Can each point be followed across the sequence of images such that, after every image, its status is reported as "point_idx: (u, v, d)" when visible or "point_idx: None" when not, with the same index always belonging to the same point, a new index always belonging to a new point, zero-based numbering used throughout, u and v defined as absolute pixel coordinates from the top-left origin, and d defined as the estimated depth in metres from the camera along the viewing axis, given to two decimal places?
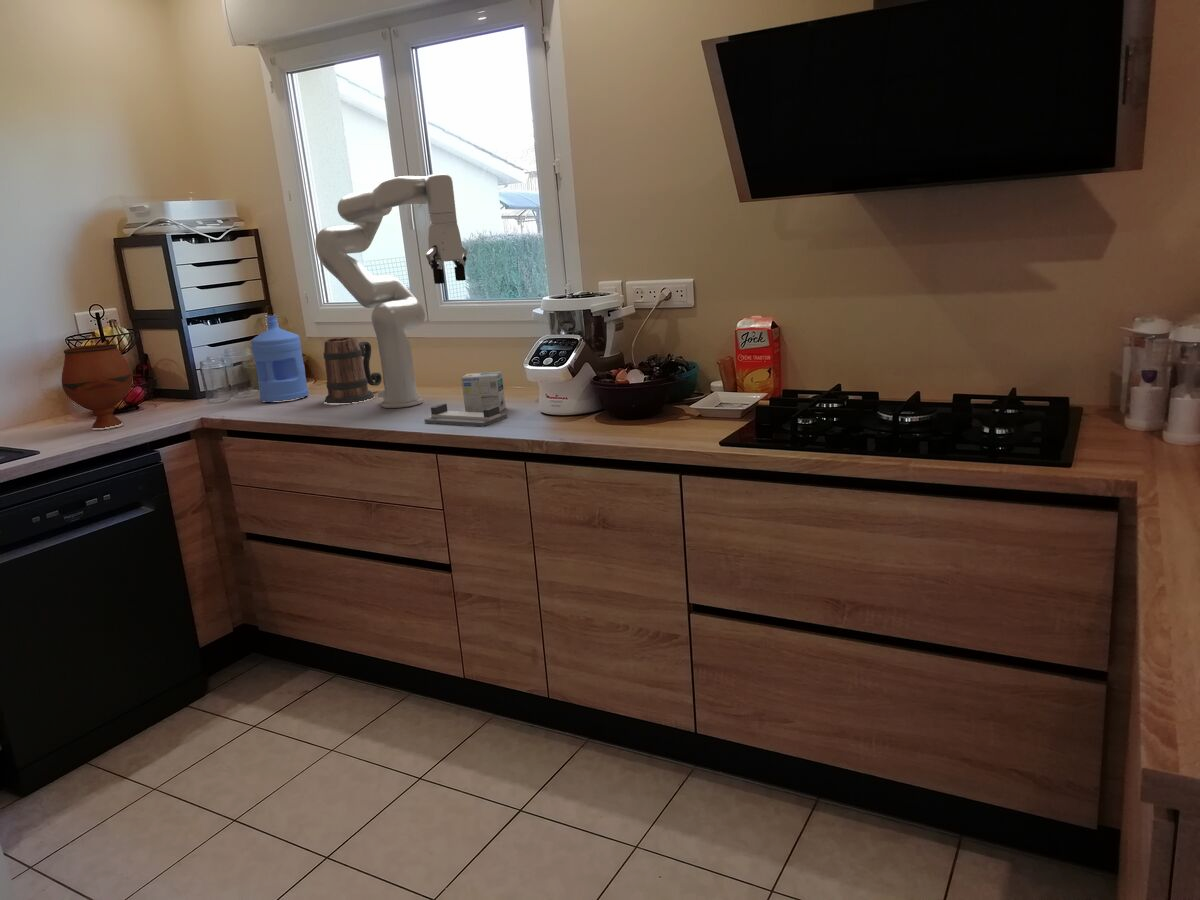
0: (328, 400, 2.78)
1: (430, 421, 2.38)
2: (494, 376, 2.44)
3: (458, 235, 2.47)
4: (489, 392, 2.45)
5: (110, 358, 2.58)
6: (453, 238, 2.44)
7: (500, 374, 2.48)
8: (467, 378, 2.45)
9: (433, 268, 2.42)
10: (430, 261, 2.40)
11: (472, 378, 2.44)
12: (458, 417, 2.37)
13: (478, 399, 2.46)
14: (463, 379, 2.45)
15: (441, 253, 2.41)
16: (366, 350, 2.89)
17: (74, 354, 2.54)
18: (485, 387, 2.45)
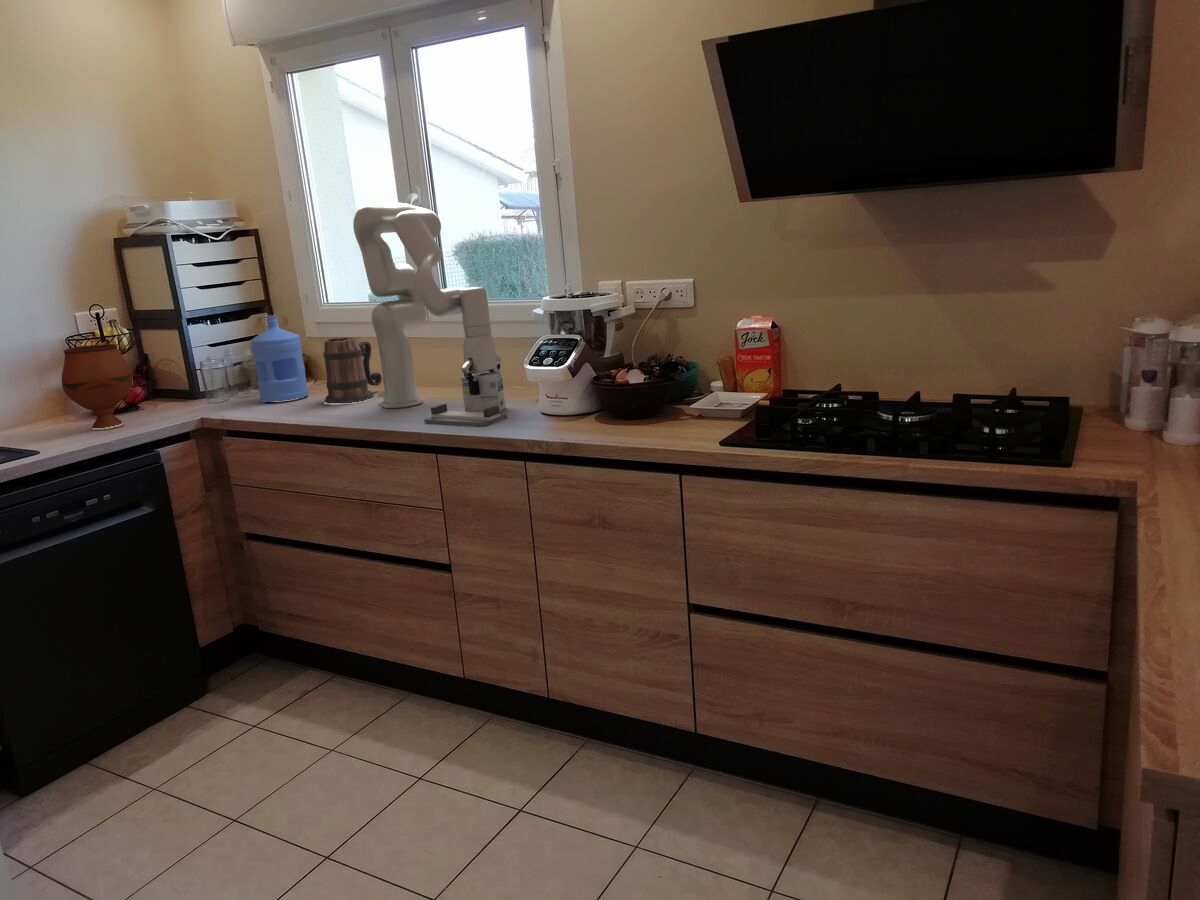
0: (328, 400, 2.78)
1: (430, 421, 2.38)
2: (494, 376, 2.44)
3: (492, 345, 2.47)
4: (489, 392, 2.45)
5: (110, 358, 2.58)
6: (488, 349, 2.45)
7: (500, 374, 2.48)
8: None
9: (468, 380, 2.42)
10: (466, 374, 2.40)
11: None
12: (458, 417, 2.37)
13: (478, 399, 2.46)
14: (463, 379, 2.45)
15: (476, 365, 2.41)
16: (366, 350, 2.89)
17: (74, 354, 2.54)
18: (485, 387, 2.45)
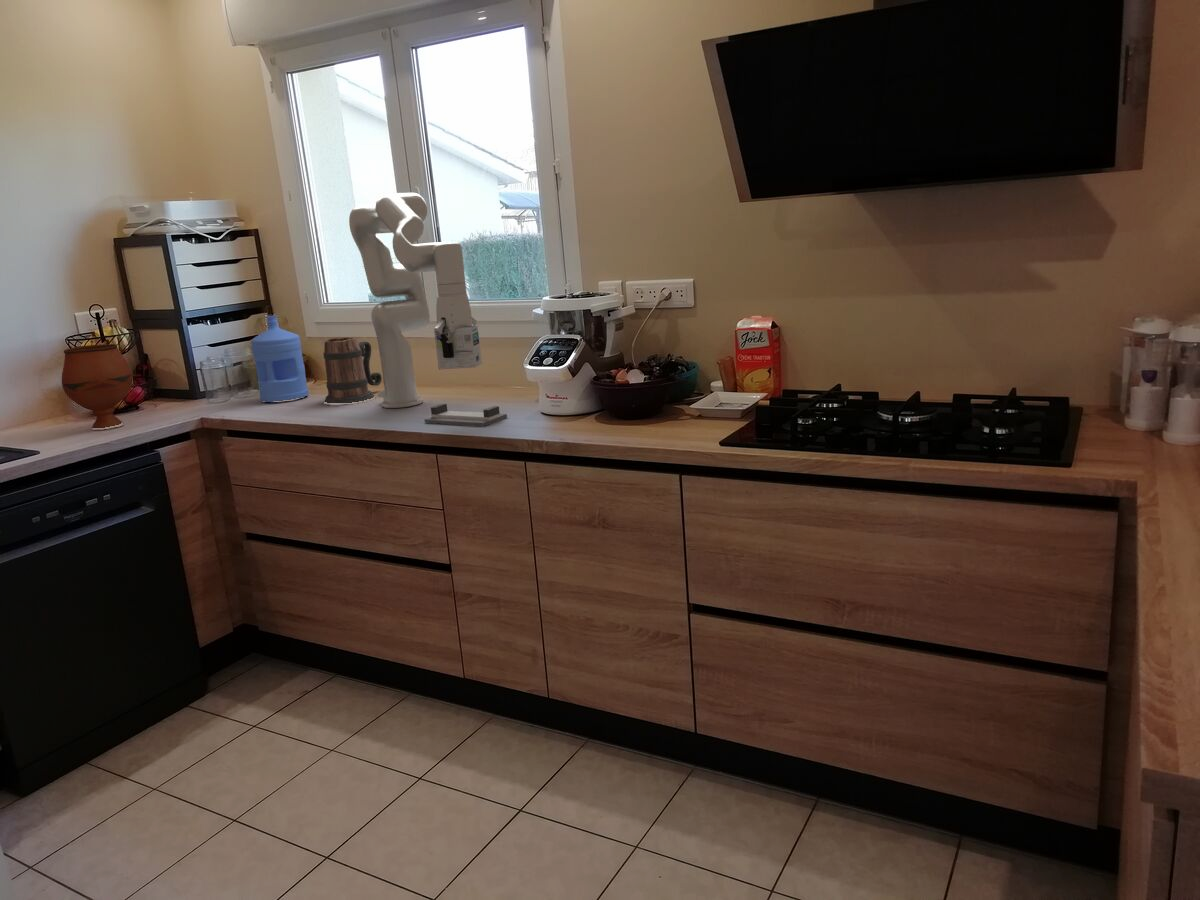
0: (328, 400, 2.78)
1: (430, 421, 2.38)
2: (469, 329, 2.29)
3: (467, 305, 2.33)
4: (464, 346, 2.31)
5: (110, 358, 2.58)
6: (462, 309, 2.31)
7: (476, 328, 2.34)
8: None
9: (442, 342, 2.29)
10: (439, 335, 2.27)
11: None
12: (458, 417, 2.37)
13: None
14: None
15: (450, 326, 2.28)
16: (366, 350, 2.89)
17: (74, 354, 2.54)
18: (459, 341, 2.30)
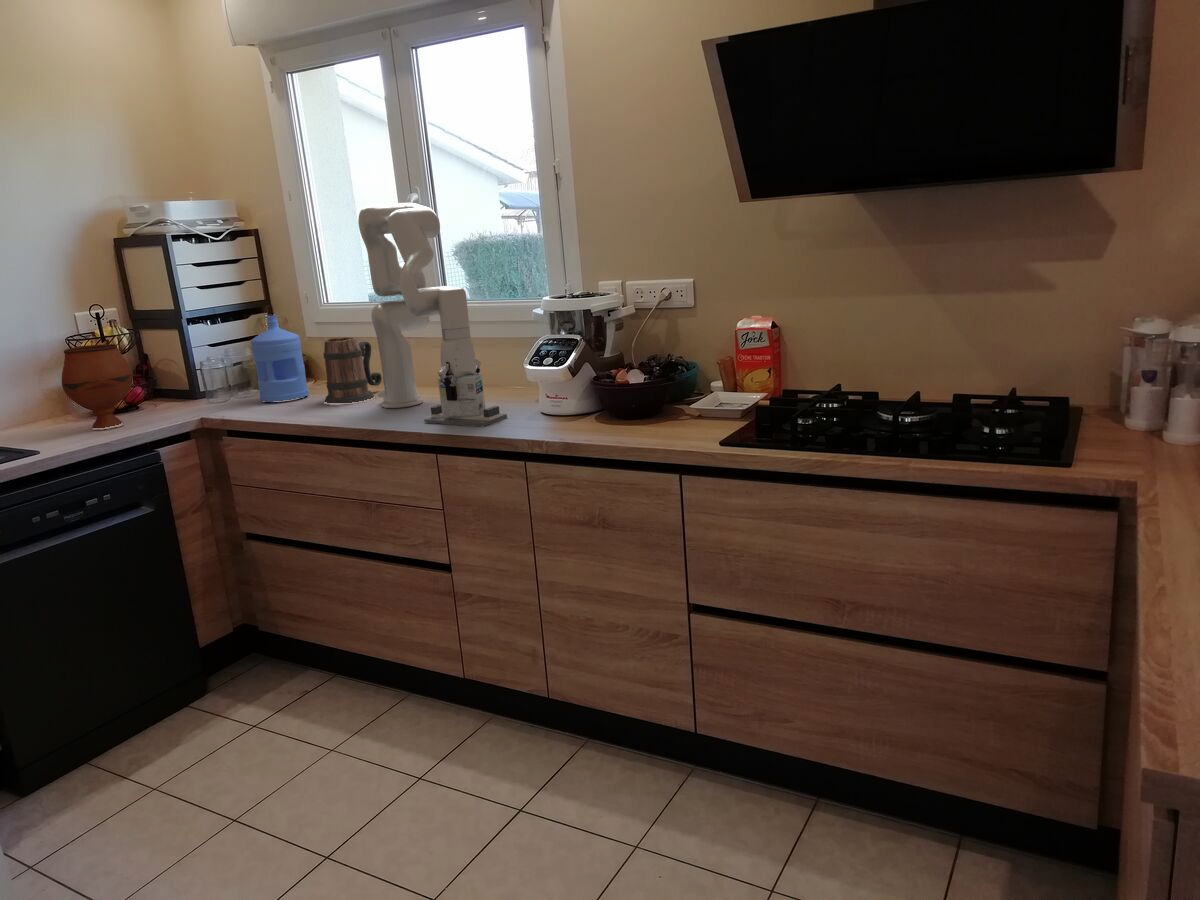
0: (328, 400, 2.78)
1: (430, 421, 2.38)
2: (471, 378, 2.32)
3: (471, 349, 2.36)
4: (467, 394, 2.33)
5: (110, 358, 2.58)
6: (466, 353, 2.33)
7: (479, 376, 2.36)
8: None
9: (445, 385, 2.31)
10: (442, 379, 2.29)
11: None
12: (458, 417, 2.37)
13: (455, 401, 2.34)
14: (440, 381, 2.34)
15: (454, 370, 2.30)
16: (366, 350, 2.89)
17: (74, 354, 2.54)
18: (462, 390, 2.33)
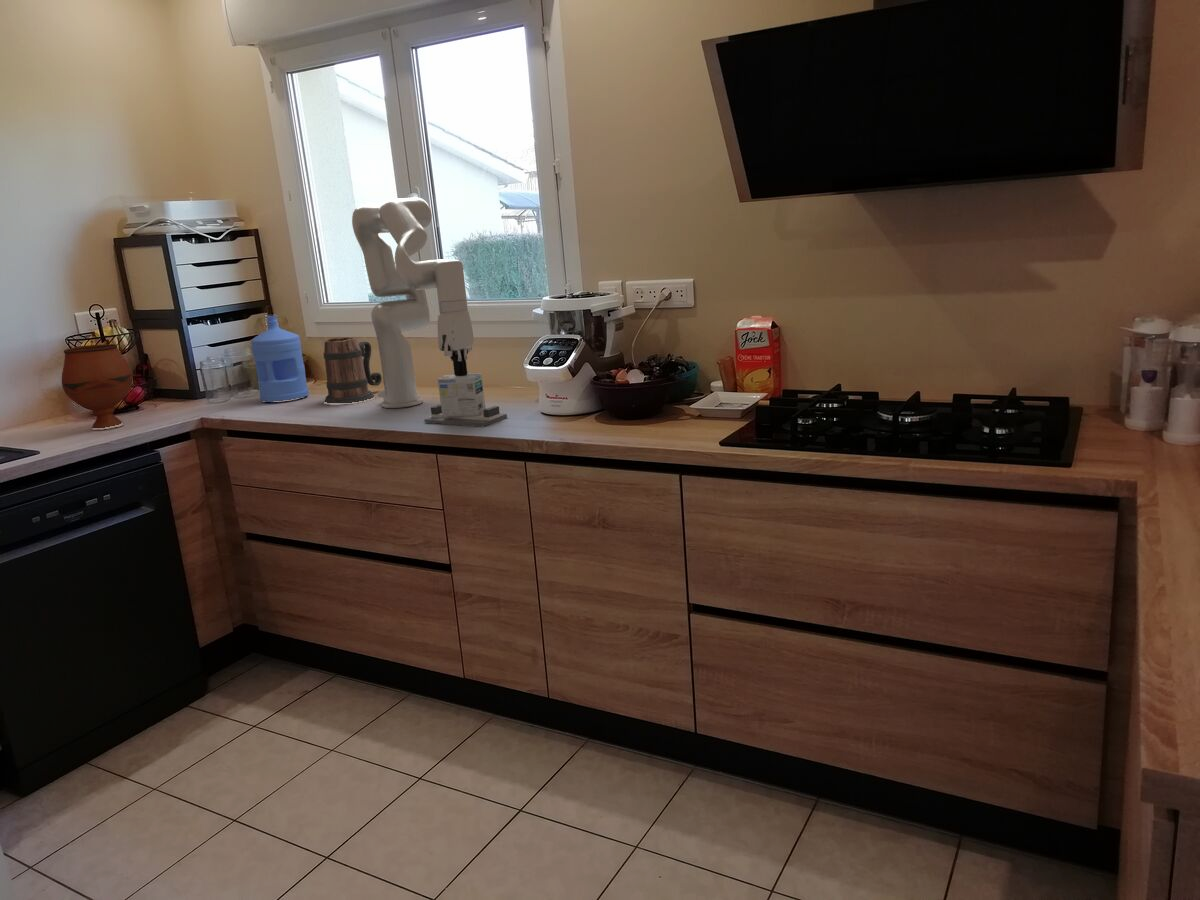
0: (328, 400, 2.78)
1: (430, 421, 2.38)
2: (471, 378, 2.32)
3: (469, 322, 2.34)
4: (466, 394, 2.33)
5: (110, 358, 2.58)
6: (464, 326, 2.32)
7: (479, 376, 2.36)
8: (443, 379, 2.33)
9: (453, 360, 2.33)
10: None
11: (448, 380, 2.33)
12: (458, 417, 2.37)
13: (455, 401, 2.34)
14: (439, 380, 2.34)
15: (451, 343, 2.28)
16: (366, 350, 2.89)
17: (74, 354, 2.54)
18: (462, 390, 2.33)
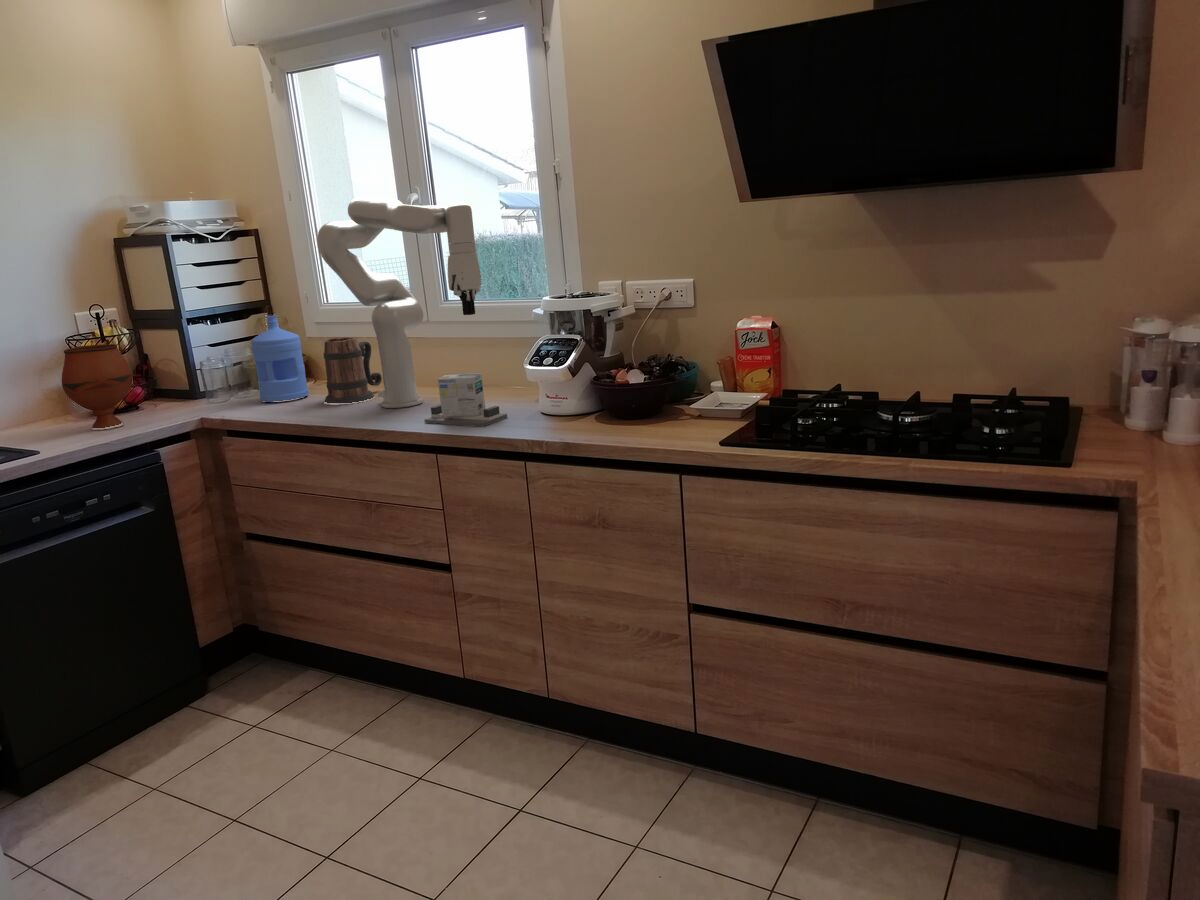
0: (328, 400, 2.78)
1: (430, 421, 2.38)
2: (471, 378, 2.32)
3: (477, 264, 2.48)
4: (466, 394, 2.33)
5: (110, 358, 2.58)
6: (472, 267, 2.46)
7: (479, 376, 2.36)
8: (443, 379, 2.33)
9: (462, 300, 2.48)
10: None
11: (448, 380, 2.33)
12: (458, 417, 2.37)
13: (455, 401, 2.34)
14: (439, 380, 2.34)
15: (460, 282, 2.43)
16: (366, 350, 2.89)
17: (74, 354, 2.54)
18: (462, 390, 2.33)
